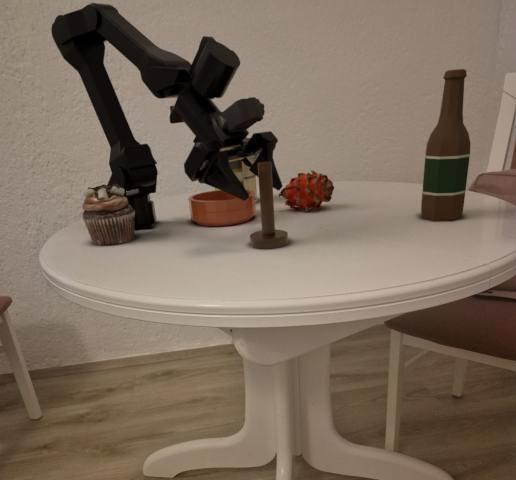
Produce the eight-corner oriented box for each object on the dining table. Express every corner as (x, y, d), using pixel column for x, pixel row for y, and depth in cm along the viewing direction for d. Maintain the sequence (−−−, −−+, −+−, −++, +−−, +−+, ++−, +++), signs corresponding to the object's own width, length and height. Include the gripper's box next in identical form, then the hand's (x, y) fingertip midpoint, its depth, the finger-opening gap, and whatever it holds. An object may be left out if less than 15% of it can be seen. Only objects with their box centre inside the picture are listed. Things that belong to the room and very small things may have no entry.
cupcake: (77, 245, 90) (63, 190, 85) (110, 232, 98) (100, 180, 93) (117, 247, 86) (105, 190, 82) (149, 234, 94) (140, 180, 89)
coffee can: (225, 208, 111) (218, 143, 105) (210, 202, 120) (203, 141, 113) (265, 202, 115) (261, 138, 108) (247, 196, 123) (243, 137, 117)
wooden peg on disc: (251, 250, 79) (244, 166, 73) (249, 240, 84) (243, 161, 79) (290, 247, 79) (286, 163, 73) (286, 237, 85) (282, 158, 79)
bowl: (189, 229, 95) (185, 203, 93) (194, 215, 107) (191, 192, 105) (257, 224, 95) (256, 198, 93) (254, 210, 107) (253, 187, 105)
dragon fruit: (339, 215, 104) (284, 227, 105) (331, 186, 108) (279, 198, 109) (338, 186, 96) (279, 199, 98) (329, 157, 100) (273, 170, 102)
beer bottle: (455, 222, 85) (473, 67, 74) (412, 219, 90) (423, 72, 79) (468, 213, 91) (487, 67, 80) (427, 210, 95) (440, 71, 84)
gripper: (186, 80, 67) (255, 164, 66) (265, 78, 80) (323, 148, 79) (157, 142, 75) (218, 218, 74) (233, 131, 88) (286, 196, 87)
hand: (264, 193), depth 78 cm, fingers open, 9 cm apart
